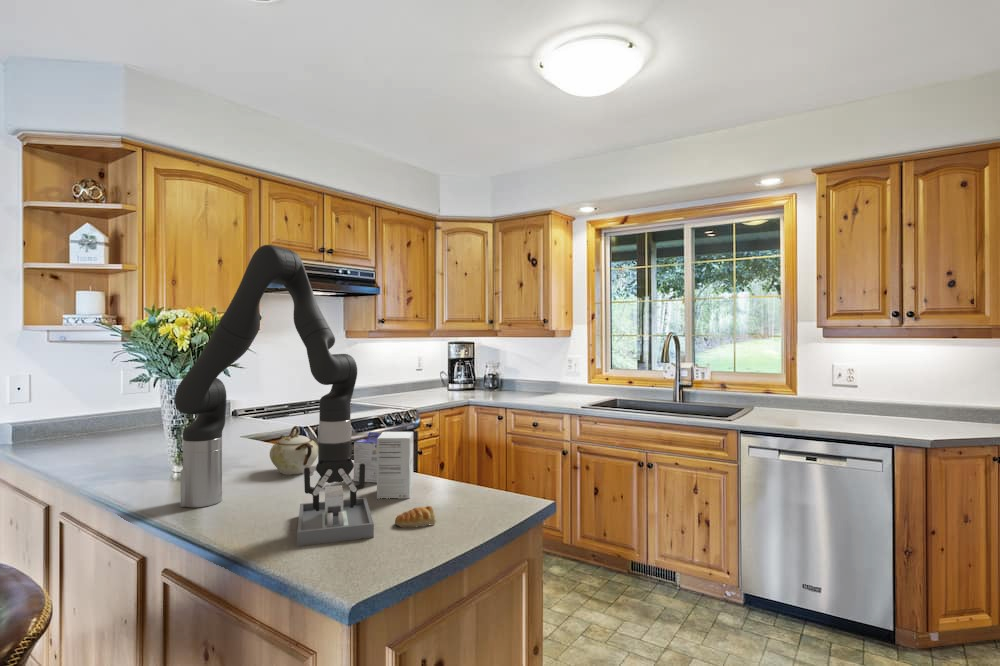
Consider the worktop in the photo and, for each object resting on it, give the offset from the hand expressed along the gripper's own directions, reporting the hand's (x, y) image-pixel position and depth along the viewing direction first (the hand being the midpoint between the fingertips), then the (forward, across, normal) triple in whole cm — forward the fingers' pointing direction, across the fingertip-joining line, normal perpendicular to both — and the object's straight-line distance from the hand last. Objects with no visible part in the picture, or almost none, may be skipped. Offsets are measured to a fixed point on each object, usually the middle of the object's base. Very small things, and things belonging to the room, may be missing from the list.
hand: (334, 508), depth 128 cm
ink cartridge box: (+4, +12, +37) cm, 39 cm away
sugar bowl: (+4, -11, +55) cm, 56 cm away
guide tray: (+4, 0, 0) cm, 4 cm away
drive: (+2, 0, 0) cm, 2 cm away
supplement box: (+4, +17, +21) cm, 27 cm away
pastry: (+5, +19, -4) cm, 20 cm away
